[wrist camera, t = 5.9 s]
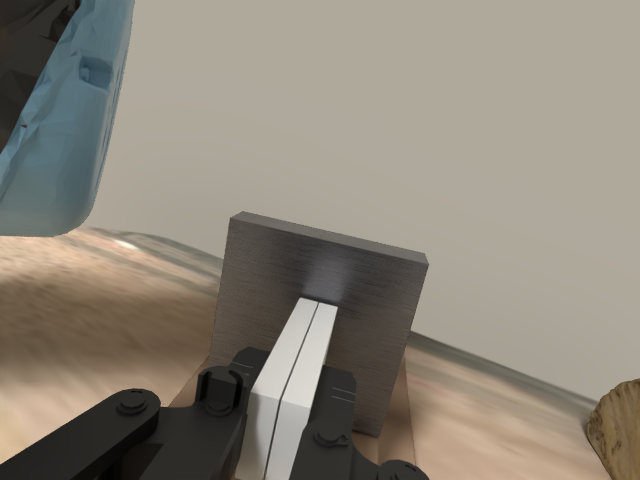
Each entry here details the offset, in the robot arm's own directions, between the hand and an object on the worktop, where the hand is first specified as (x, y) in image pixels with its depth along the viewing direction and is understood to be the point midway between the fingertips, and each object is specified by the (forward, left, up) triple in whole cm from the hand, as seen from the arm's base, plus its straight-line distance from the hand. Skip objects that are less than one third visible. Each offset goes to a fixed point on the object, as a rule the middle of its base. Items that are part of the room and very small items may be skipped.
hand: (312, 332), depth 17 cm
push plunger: (-1, +4, -8) cm, 9 cm away
